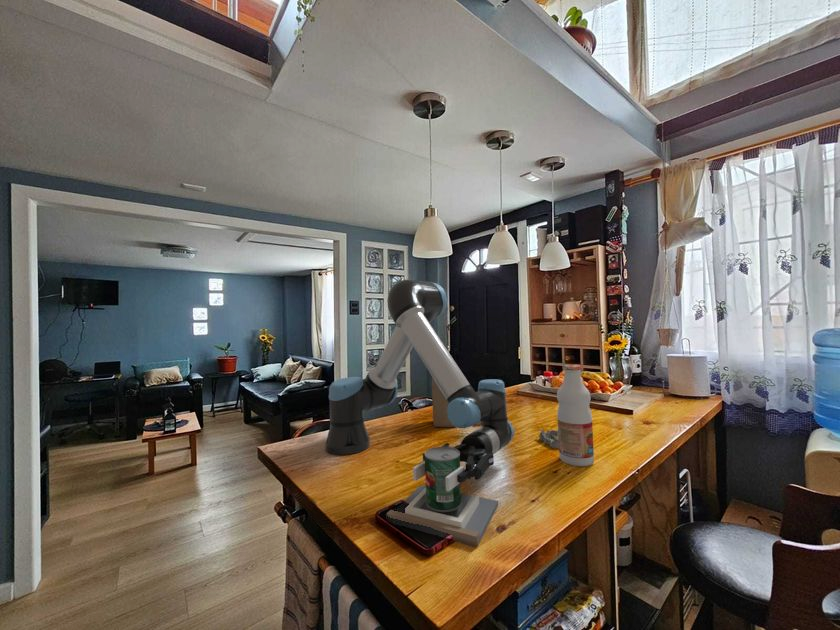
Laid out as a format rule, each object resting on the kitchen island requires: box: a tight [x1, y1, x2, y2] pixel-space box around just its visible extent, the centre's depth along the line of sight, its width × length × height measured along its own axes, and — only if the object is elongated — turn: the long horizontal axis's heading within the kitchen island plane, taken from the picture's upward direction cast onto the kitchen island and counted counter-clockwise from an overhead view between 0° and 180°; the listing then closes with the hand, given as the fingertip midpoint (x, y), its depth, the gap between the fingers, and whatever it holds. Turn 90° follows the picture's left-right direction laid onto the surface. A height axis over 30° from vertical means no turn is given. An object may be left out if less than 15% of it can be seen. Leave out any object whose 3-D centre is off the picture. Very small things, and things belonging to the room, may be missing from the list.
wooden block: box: [431, 377, 457, 428], centre depth 142 cm, size 10×10×20 cm
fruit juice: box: [556, 364, 595, 467], centre depth 101 cm, size 9×9×28 cm
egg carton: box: [537, 427, 559, 449], centre depth 116 cm, size 11×8×4 cm
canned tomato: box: [423, 446, 462, 512], centre depth 76 cm, size 8×8×11 cm
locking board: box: [386, 484, 499, 548], centre depth 76 cm, size 20×16×3 cm
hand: (430, 479), depth 72 cm, fingers closed on canned tomato, 8 cm apart
